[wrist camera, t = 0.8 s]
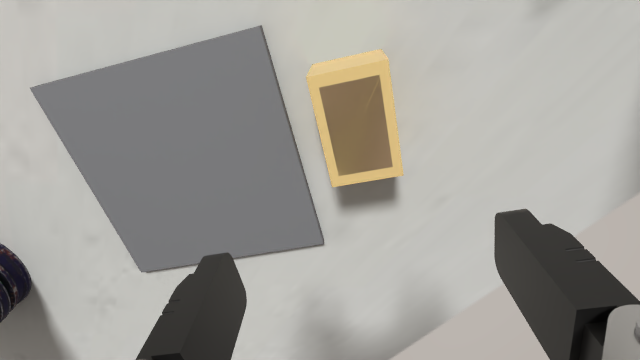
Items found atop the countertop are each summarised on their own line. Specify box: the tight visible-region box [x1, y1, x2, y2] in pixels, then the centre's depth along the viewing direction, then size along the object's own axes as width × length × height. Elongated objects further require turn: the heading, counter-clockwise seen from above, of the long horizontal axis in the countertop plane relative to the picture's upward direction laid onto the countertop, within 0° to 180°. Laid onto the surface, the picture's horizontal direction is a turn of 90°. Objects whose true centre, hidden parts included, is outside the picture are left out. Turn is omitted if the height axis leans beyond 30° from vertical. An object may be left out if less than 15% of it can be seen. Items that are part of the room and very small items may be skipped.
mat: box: [30, 25, 324, 272], centre depth 29 cm, size 18×18×1 cm
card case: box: [306, 49, 403, 187], centre depth 24 cm, size 5×8×4 cm, turn 12°
